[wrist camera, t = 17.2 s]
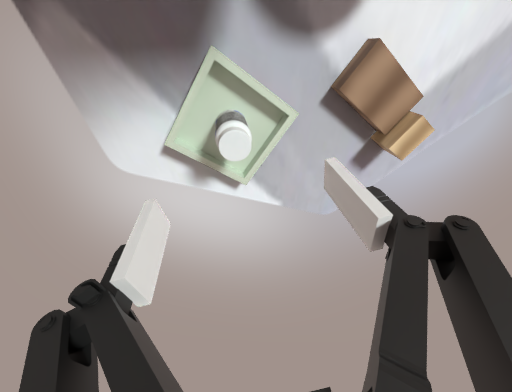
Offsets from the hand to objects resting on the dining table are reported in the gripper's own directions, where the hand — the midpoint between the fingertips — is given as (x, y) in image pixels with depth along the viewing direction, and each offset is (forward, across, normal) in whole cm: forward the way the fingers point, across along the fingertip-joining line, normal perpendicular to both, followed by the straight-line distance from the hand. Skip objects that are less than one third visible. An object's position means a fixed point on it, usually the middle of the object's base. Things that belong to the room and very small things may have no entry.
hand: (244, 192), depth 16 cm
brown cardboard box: (+20, +22, 0) cm, 30 cm away
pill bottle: (+19, 0, -1) cm, 19 cm away
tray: (+19, 0, -1) cm, 19 cm away
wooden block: (+19, +27, -8) cm, 34 cm away
